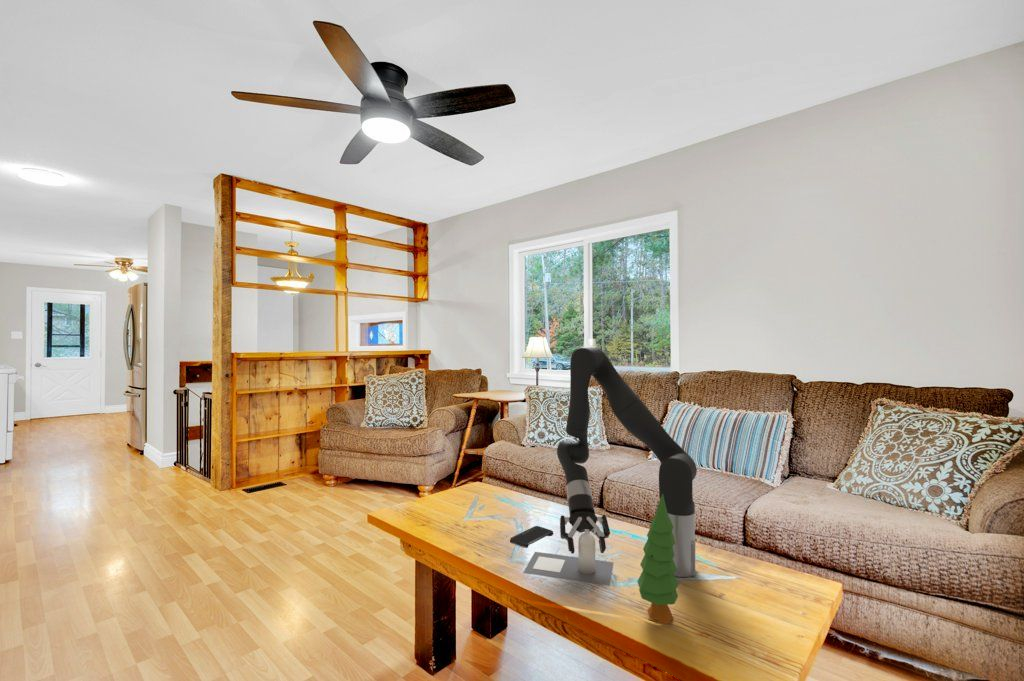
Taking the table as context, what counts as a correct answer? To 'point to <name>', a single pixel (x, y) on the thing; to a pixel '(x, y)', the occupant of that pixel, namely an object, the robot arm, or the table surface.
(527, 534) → the phone
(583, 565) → the white rounded cylinder
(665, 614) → the decorative tree
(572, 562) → the mat
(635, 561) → the table surface
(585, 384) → the robot arm
